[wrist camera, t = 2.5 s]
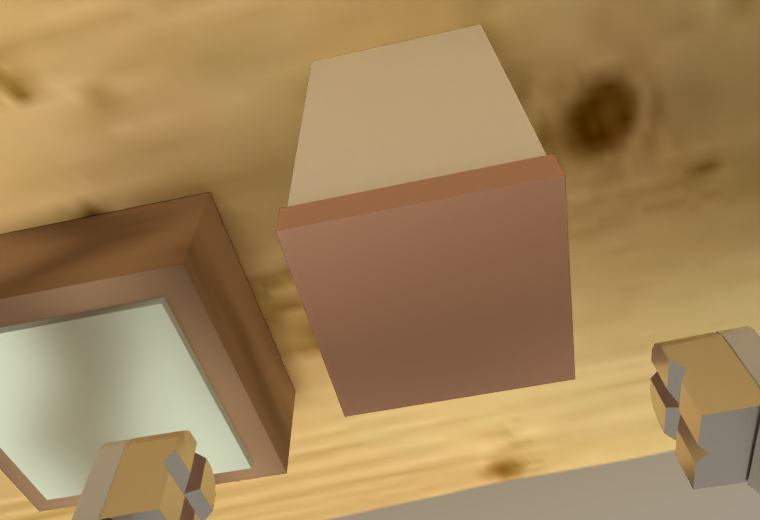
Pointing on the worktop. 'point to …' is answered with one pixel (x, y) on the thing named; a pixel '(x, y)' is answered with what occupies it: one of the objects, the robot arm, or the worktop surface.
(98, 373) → the base
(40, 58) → the worktop surface
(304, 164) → the two-tone lidded box
